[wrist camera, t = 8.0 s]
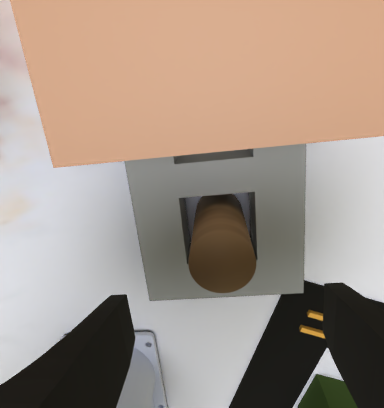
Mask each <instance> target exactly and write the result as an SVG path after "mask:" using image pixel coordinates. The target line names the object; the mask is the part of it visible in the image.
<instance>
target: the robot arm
mask: <svg viewBox="0 0 384 408" xmlns="http://www.w3.org/2000/svg"><path fill="white" fill-rule="evenodd" d="M322 331H323V334H324V336H325V339H326V342H327V345H328V347H329V350H330V353H331V355H332V358H333V360H334V362H335V364H336V366H337V368H338V370H339V372H340V374H341V376H342V378H343V380H344V382H345V384H346V386H347V388H348V390H349V392H350V394H351V396H352V398H353V400H354V401H355V403H356V405H357V407H358V408H384V310H382V309H381V308H379V307H378V306H376V305H375V304H374V303H372V302H371V301H369V300H368V299H366V298H365V297H363V296H362V295H360V294H359V293H357V292H356V291H355V290H353V289H352V288H350V287H349V286H347V285H345V284H344V283H327V284H324V306H323V329H322ZM147 342H150V343H151V344H149V343H147ZM0 408H167V402H166V397H165V391H164V386H163V380H162V375H161V369H160V364H159V358H158V353H157V347H156V342H155V336H154V334H153V333H151V332H134V329H133V324H132V319H131V314H130V309H129V305H128V300H127V295H111V296H109V297H108V298H107V299H106V300H105V301H104V302H102V303H101V304H100V305H99V306H98V307H97V308H96V309H95V310H94V311H93V312H92V313H91V314H89V315H88V316H87V317H86V318H85V319H84V320H83V321H82V322H81V323H80V324H78V325H77V326H76V327H75V328H74V329H73V330H72V331H71V332H70V333H68V334H67V335H64V336H62V338H61V339H60V341H59V342H58V343H57V344H55V345H54V346H53V347H52V348H51V349H49V350H48V351H47V352H46V353H45V354H43V355H42V356H41V357H39V358H38V359H37V360H35V361H34V362H33V363H32V364H30V365H29V366H27V367H26V368H25V369H23V370H22V371H20V372H19V373H18V374H16V375H15V376H13V377H12V378H11V379H9V380H8V381H6V382H5V383H3V384H1V385H0Z"/></svg>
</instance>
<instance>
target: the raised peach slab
mask: <svg viewBox="0 0 384 408" xmlns="http://www.w3.org/2000/svg"><path fill="white" fill-rule="evenodd" d="M10 2H11V6H12V10H13V13H14V17H15V21H16V25H17V29H18V33H19V37H20V40H21V44H22V48H23V52H24V56H25V60H26V63H27V67H28V71H29V75H30V79H31V83H32V87H33V90H34V94H35V98H36V102H37V106H38V110H39V113H40V117H41V121H42V125H43V129H44V133H45V137H46V140H47V144H48V148H49V152H50V156H51V160H52V164H53V167H54V168H57V167H67V166H77V165H88V164H98V163H108V162H119V161H129V160H140V159H150V158H160V157H171V156H181V155H191V154H202V153H212V152H222V151H233V150H243V149H254V148H264V147H274V146H285V145H295V144H305V143H316V142H326V141H337V140H347V139H357V138H368V137H378V136H384V0H10Z"/></svg>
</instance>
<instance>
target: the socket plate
mask: <svg viewBox="0 0 384 408" xmlns="http://www.w3.org/2000/svg"><path fill="white" fill-rule="evenodd" d="M125 167H126V172H127V178H128V183H129V189H130V194H131V200H132V205H133V211H134V216H135V222H136V227H137V233H138V239H139V244H140V250H141V255H142V261H143V266H144V272H145V277H146V283H147V288H148V294H149V300H150V301H158V300H178V299H197V298H216V297H236V296H255V295H274V294H294V293H303V291H304V235H305V178H306V143H305V144H295V145H285V146H274V147H264V148H254V149H243V150H233V151H222V152H212V153H202V154H191V155H181V156H171V157H160V158H150V159H140V160H129V161H125ZM246 192H249V201H250V222H251V243H252V246H253V250H254V254H255V257H256V270H255V273H254V276H253V277H252V279H251V280H250V282H249V283H248V284H247V285H245V286H244V287H243V288H241V289H239V290H237V291H234V292H230V293H215V292H211V291H208V290H206V289H204V288H202V287H201V286H200V285H198V284H197V283H196V282H195V280H194V279H193V278H192V276H191V274H190V271H189V265H188V262H189V254H190V247H191V243H190V238H189V229H188V221H187V213H186V204H185V198H186V197H198V196H210V195H222V194H234V193H246Z"/></svg>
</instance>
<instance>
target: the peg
mask: <svg viewBox="0 0 384 408" xmlns="http://www.w3.org/2000/svg"><path fill="white" fill-rule="evenodd" d="M188 265H189V271H190V274H191V276H192V278H193V279H194V280H195V282H196V283H197V284H198V285H200V286H201V287H202V288H204V289H206V290H208V291H211V292H215V293H230V292H234V291H237V290H239V289H241V288H243V287H244V286H245V285H247V284H248V283H249V282H250V280H251V279H252V277H253V276H254V273H255V270H256V257H255V254H254V250H253V246H252V243H251V239H250V236H249V232H248V228H247V225H246V221H245V218H244V214H243V211H242V207H241V204H240V202H239V200H238V199H237V198H236V197H235V196H234V195H233V194H222V195H210V196H203V197H202V198H201V199H200V200H199V202H198V204H197V207H196V213H195V220H194V227H193V234H192V240H191V247H190V254H189V262H188Z"/></svg>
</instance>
